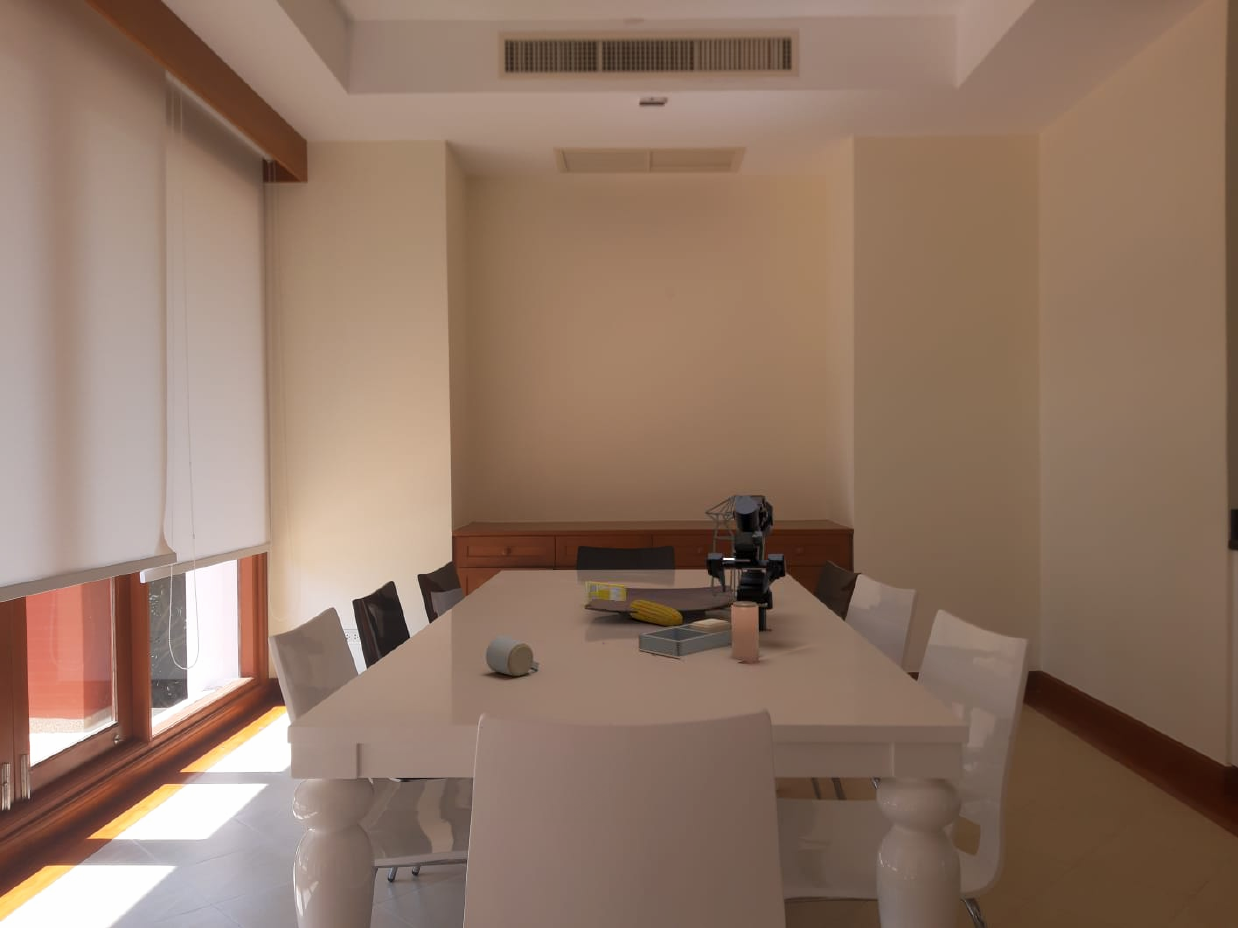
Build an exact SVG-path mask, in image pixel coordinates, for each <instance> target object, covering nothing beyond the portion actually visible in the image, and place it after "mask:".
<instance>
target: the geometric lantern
mask: <svg viewBox="0 0 1238 928" xmlns="http://www.w3.org/2000/svg"><path fill="white" fill-rule="evenodd" d="M741 498H743V495H740V494H733V495H732V496H731V497H729V498H727V499H725V500H724V501H721V502H720V503H718V504H716V505H714V506H713V507H710V508H708V509H707V510H706V511H704V512H703V513H704V514H706V516H709V518H710V519H711V520H712V521H713V522H714V523H716V526H715V530H714V533H713V537H712V538H713V543H712V544H713V546H712V547H713V549H712V553H716V550H717V539H718V540H731V557H730V559H735V556H733V548H734V533H733V531H732V530H731V527H729V525H728V523H729V521H730V520H732V519H734V518H733V508H734V504H735V503H734V502H736V501H737V500H739V499H741ZM723 504H724V505H723ZM721 505H723V507H721V509H720V510H719V511H718V512H713V511H712V510H714V509H716V508H718V507H720V506H721ZM730 507H731V508H730ZM725 508H726V509H725ZM729 509H730V510H729ZM723 510H725V511H724V512H723ZM712 515H715V516H716V518H715V517H714V516H712ZM719 516H722V521H720V520H719ZM725 516H726V517H725ZM719 525H724V526H725V528H726V529H727V531H728V533H730V535H728V536H718V530H719V529H718V528H719ZM742 572H744V569H737V582H738V583H737V584H738V585H737V586H739V584H740V578H741V573H742ZM729 577H730V578H729V579H730V580H729V589H726V590H725V593H723V590H717V591H714V590H715V588H714V587H715V585H714V584H715V578H714V577H713V576H711V582H710V583H711V584H710V594H711V595H712V596H713V597H714V596H715V597H718V596H723V597H729V598H730V597H731V598H732V597H733V598H734V599H736V602H737V595H736V593H737V589H736V568H730V576H729ZM732 585H733V586H732ZM732 587H733V588H732ZM726 592H729V593H730V594H727V593H726ZM732 592H733V593H732ZM731 593H732V595H731ZM715 597H714V598H715ZM724 608H725V609H724V610H727V611H731V608H727V607H724Z"/></svg>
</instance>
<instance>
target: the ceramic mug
mask: <svg viewBox="0 0 1238 928" xmlns="http://www.w3.org/2000/svg"><path fill="white" fill-rule="evenodd" d="M485 661H486V665H487V666H488V668H489V669H490V670H492V671H493V672H496V673H499V672H500V673H501V674H505V675H508V676H512V677H521V675H522V676H524V675H526V674H527V673H528V672H529V671H530V669H532V668H533V670H536V671H537V670H538V669H539V665H540V664H539V662H538V661H537V662H536V661H534V653H533V650H532V648H531V647H530V646H529V645H528V644H526V643H525V642H523V641H519V640H516V639H514V638H511V637H508V636H505V635H499V636H497V637H495V638H493V639H492V640H491V641H490V642H489V645H488V646H487V648H486V653H485Z"/></svg>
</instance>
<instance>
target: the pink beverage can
mask: <svg viewBox="0 0 1238 928" xmlns="http://www.w3.org/2000/svg"><path fill="white" fill-rule="evenodd" d="M730 605H731V606H730V607H731V608H730V609H731V610H730V612H731V617H730V618H731V624H732V644H731V658H732V659H734V660H738V661H739V662H737V664H743V665H749V664H751V665H753V664H757V663H759V662H760V649H759V647H760V644H759V642H760V640H759V633H760V631H759V625H758V605H756V602H751V601H738V602H737V601H736V602H735V601H733V605H732V604H730Z"/></svg>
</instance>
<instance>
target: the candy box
mask: <svg viewBox="0 0 1238 928" xmlns="http://www.w3.org/2000/svg"><path fill="white" fill-rule="evenodd" d="M584 584H585V585H584V593H585V594H584V606H585V605H586V604H588V603H589V602H591V601H592V599H604V600H615V601H626V602H627V595H626V594H627V585H626V584H625V585H624V584H616V583H605V582H599V581H598V582H597V581H590V580H589V581H585V583H584Z"/></svg>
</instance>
